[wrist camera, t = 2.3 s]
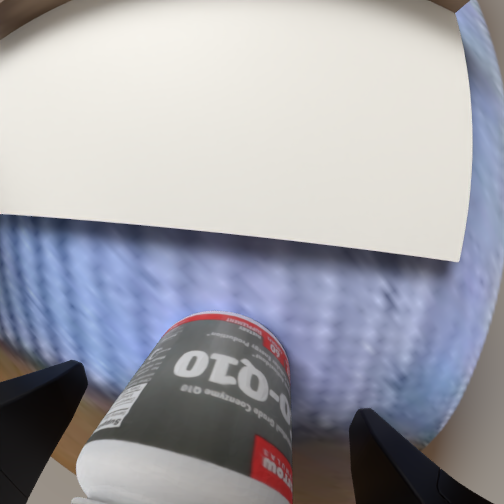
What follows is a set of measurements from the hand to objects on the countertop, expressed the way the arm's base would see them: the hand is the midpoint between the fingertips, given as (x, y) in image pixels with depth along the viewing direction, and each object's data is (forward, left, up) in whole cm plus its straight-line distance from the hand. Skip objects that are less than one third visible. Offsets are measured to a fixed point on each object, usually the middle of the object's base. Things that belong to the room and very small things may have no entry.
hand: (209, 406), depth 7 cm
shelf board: (+10, -4, -2) cm, 11 cm away
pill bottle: (0, 0, -2) cm, 2 cm away
